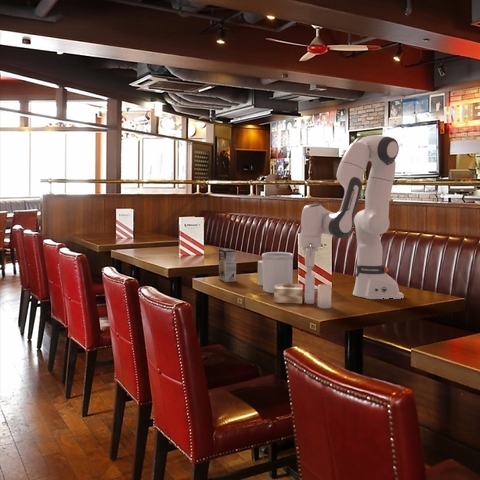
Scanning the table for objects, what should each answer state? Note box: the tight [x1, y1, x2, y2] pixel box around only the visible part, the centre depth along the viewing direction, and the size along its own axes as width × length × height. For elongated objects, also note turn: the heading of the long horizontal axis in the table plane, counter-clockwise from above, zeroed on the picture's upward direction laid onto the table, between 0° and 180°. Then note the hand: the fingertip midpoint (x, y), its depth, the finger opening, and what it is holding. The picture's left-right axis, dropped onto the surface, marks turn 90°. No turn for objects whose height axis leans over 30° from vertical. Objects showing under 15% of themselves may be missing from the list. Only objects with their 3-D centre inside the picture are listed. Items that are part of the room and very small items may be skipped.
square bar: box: [304, 273, 316, 305], centre depth 234 cm, size 4×4×12 cm
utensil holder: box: [261, 251, 294, 294], centre depth 259 cm, size 15×15×18 cm
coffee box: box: [218, 248, 237, 283], centre depth 285 cm, size 9×6×16 cm
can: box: [256, 259, 263, 287], centre depth 275 cm, size 9×9×12 cm
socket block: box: [273, 283, 304, 304], centre depth 239 cm, size 12×12×6 cm
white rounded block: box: [316, 283, 332, 309], centre depth 226 cm, size 6×6×9 cm
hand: (308, 274), depth 233 cm, fingers open, 8 cm apart
